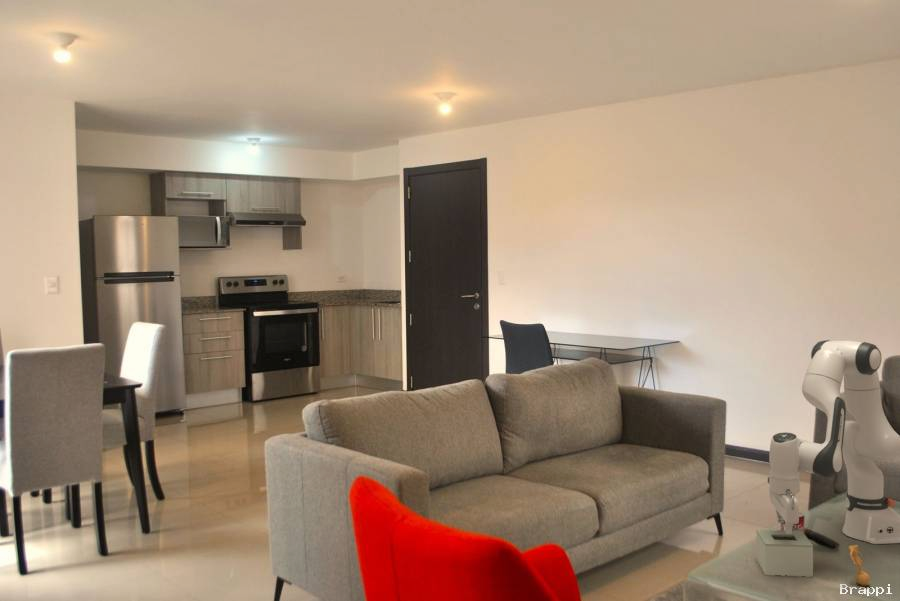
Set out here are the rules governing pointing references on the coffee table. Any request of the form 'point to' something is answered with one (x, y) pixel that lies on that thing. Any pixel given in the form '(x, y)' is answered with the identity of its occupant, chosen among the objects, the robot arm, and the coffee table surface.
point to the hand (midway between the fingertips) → (784, 527)
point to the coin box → (784, 553)
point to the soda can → (796, 526)
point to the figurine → (861, 576)
